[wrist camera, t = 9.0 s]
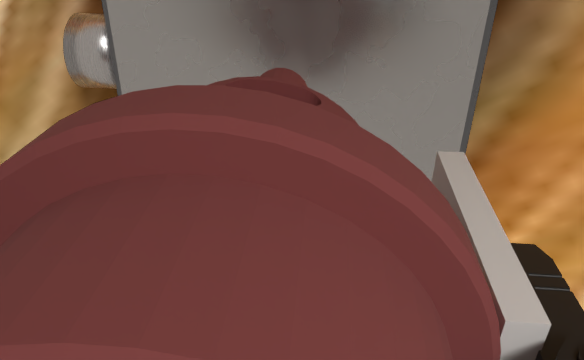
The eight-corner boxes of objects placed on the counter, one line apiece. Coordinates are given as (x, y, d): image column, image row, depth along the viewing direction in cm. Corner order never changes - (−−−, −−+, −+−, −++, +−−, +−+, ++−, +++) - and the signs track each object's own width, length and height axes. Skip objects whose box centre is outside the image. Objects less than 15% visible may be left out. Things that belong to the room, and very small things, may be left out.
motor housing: (77, -116, 26) (-46, -124, 17) (482, -110, 24) (557, -116, 16) (125, 154, 34) (55, 237, 25) (432, 170, 32) (465, 262, 24)
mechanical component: (458, 242, 17) (203, 308, 19) (369, -57, 12) (56, 78, 15) (671, 839, 6) (37, 810, 9) (561, 191, 2) (-645, 512, 4)
